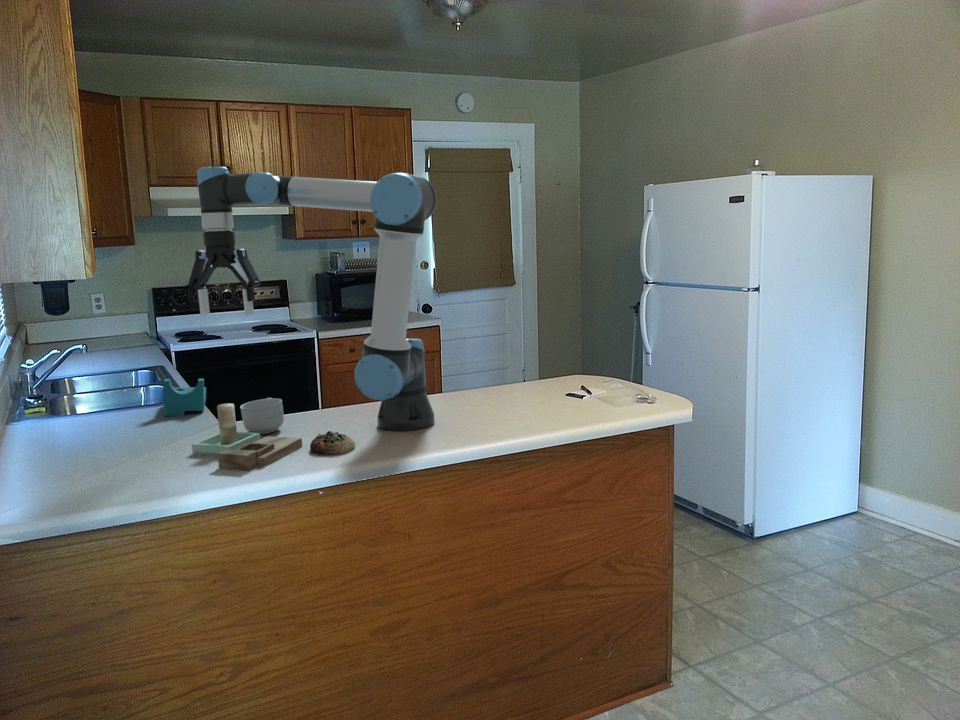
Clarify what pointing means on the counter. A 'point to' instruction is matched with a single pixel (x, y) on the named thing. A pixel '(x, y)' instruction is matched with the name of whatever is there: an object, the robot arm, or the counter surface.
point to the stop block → (237, 460)
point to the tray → (214, 445)
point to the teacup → (262, 415)
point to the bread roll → (331, 444)
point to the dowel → (227, 424)
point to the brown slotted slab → (271, 448)
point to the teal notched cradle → (183, 398)
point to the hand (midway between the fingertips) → (227, 314)
